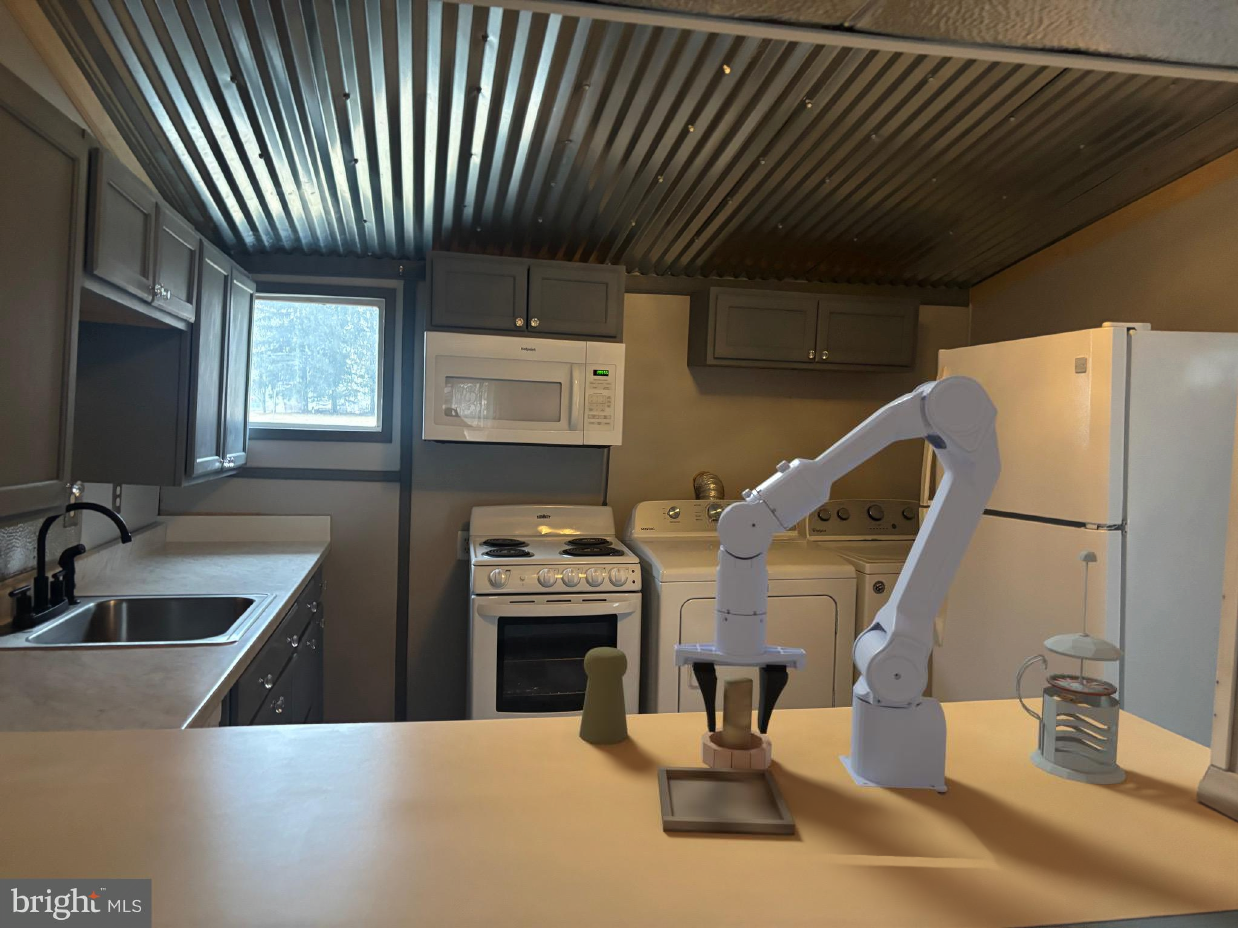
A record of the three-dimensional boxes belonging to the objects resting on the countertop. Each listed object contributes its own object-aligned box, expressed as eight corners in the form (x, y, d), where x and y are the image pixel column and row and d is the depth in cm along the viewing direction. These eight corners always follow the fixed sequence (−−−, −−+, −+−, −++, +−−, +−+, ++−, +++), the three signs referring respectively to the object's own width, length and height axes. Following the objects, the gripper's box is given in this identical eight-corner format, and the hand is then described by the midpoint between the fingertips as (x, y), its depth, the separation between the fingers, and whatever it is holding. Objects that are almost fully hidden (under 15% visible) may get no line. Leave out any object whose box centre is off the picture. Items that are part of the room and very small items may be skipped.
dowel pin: (747, 753, 92) (750, 675, 92) (752, 765, 89) (755, 684, 89) (719, 752, 92) (722, 675, 92) (723, 764, 89) (726, 683, 89)
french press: (1137, 790, 87) (1150, 560, 86) (1018, 772, 91) (1029, 552, 90) (1114, 756, 96) (1125, 548, 95) (1007, 741, 100) (1017, 541, 99)
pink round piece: (763, 751, 94) (764, 728, 94) (775, 779, 87) (776, 754, 87) (698, 749, 94) (699, 726, 94) (705, 777, 87) (706, 751, 87)
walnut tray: (770, 784, 86) (770, 769, 86) (794, 841, 74) (794, 824, 74) (657, 780, 86) (657, 765, 86) (662, 837, 74) (663, 819, 74)
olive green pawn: (630, 732, 99) (633, 644, 99) (626, 751, 93) (629, 657, 93) (582, 729, 100) (584, 641, 100) (574, 747, 94) (577, 654, 94)
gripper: (798, 604, 94) (793, 719, 95) (673, 600, 94) (670, 715, 95) (812, 618, 87) (807, 742, 87) (677, 613, 87) (673, 737, 88)
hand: (736, 729), depth 91 cm, fingers open, 5 cm apart
